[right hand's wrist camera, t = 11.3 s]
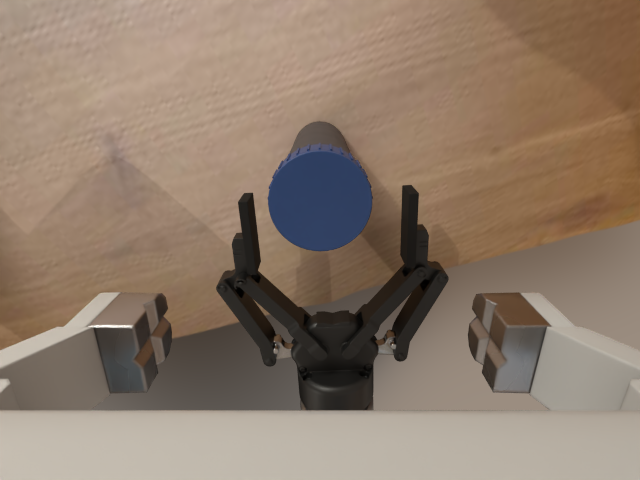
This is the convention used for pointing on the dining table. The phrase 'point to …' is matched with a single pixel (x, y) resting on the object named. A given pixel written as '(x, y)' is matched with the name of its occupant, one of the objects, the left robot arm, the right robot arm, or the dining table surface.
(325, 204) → the lid
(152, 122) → the dining table surface
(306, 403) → the left robot arm
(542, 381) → the right robot arm
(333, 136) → the gray bottle
